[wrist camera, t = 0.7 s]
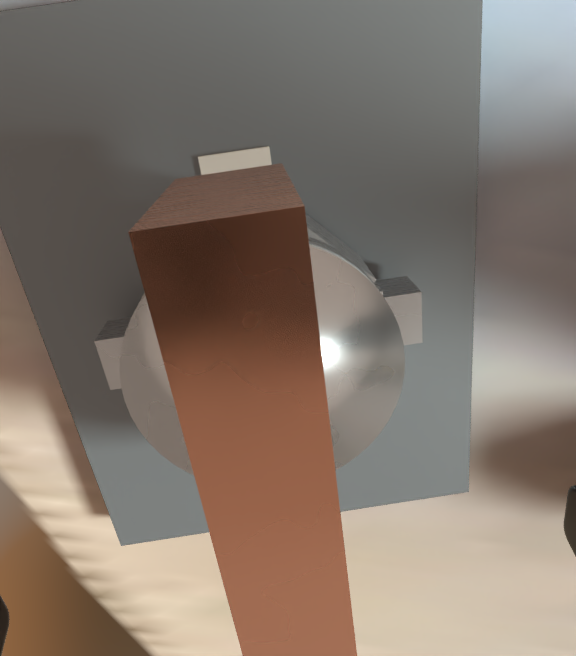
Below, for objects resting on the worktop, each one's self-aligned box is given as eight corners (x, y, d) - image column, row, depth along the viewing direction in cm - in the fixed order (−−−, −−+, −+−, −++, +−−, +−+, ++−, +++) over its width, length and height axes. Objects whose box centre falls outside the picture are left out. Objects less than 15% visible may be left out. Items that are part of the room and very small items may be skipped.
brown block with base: (397, 128, 14) (581, 164, 6) (407, 422, 18) (525, 660, 10) (68, 176, 14) (-156, 274, 6) (156, 460, 18) (88, 730, 10)
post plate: (460, -43, 14) (539, -94, 10) (454, 466, 21) (498, 544, 18) (-45, 29, 14) (-154, 4, 10) (129, 517, 21) (104, 606, 18)
